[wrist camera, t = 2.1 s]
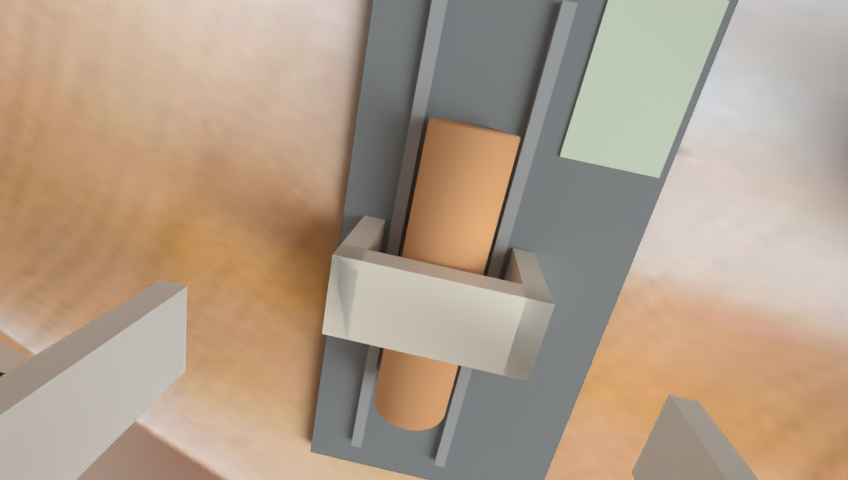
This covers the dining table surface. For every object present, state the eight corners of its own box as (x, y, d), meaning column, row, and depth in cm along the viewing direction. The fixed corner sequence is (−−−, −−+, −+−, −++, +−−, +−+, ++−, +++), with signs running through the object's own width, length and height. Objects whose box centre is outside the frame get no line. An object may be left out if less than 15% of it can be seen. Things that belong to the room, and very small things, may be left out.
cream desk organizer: (364, 215, 18) (332, 254, 14) (534, 252, 18) (554, 304, 13) (354, 278, 19) (321, 333, 15) (514, 315, 19) (528, 381, 14)
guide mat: (388, -80, 15) (382, -92, 14) (733, -10, 14) (751, -17, 13) (314, 442, 23) (307, 458, 22) (532, 494, 23) (535, 511, 22)
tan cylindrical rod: (433, 115, 16) (424, 120, 13) (516, 133, 16) (525, 142, 13) (382, 371, 20) (366, 419, 17) (447, 387, 20) (442, 438, 17)
